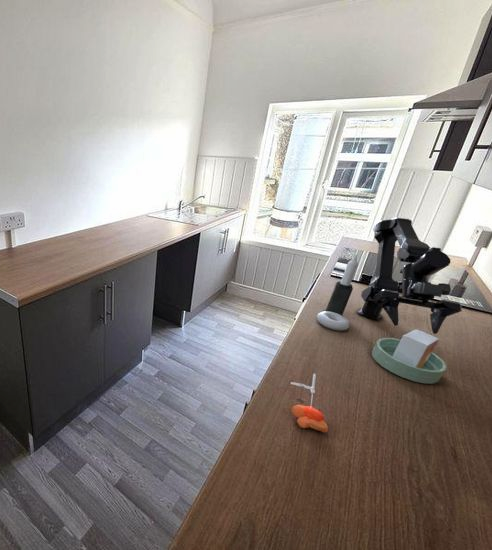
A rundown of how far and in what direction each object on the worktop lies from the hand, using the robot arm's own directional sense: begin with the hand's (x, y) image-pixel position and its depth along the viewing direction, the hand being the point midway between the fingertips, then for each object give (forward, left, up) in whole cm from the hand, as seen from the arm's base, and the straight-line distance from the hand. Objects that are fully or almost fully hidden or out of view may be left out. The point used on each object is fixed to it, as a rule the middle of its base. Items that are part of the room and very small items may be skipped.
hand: (415, 329), depth 87 cm
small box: (+3, +2, -11) cm, 11 cm away
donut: (-4, -20, -11) cm, 23 cm away
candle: (-12, -23, -11) cm, 28 cm away
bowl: (+3, +1, -11) cm, 11 cm away
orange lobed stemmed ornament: (+49, -8, -11) cm, 51 cm away
